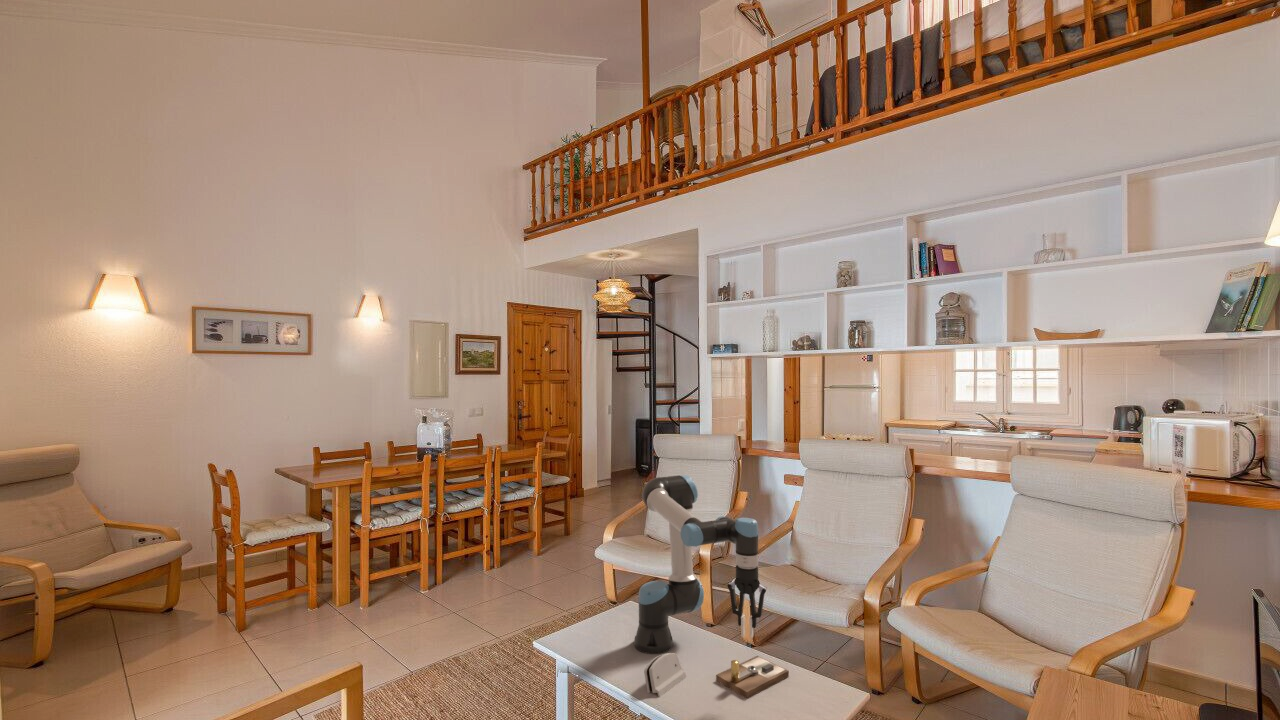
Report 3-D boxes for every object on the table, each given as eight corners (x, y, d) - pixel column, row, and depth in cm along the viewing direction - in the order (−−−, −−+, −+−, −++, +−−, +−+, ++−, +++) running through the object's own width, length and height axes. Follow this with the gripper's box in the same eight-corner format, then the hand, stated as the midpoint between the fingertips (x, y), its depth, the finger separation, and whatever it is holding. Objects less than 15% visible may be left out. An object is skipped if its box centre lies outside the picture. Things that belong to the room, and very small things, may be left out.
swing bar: (752, 668, 204) (751, 650, 204) (759, 672, 202) (759, 654, 202) (729, 679, 197) (728, 661, 197) (736, 683, 194) (735, 665, 194)
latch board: (716, 680, 200) (716, 670, 201) (757, 661, 214) (757, 651, 214) (747, 698, 189) (746, 687, 190) (788, 676, 203) (788, 666, 203)
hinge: (659, 697, 190) (650, 665, 192) (648, 697, 193) (640, 666, 195) (687, 676, 203) (679, 646, 205) (676, 677, 206) (668, 647, 208)
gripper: (722, 566, 194) (722, 637, 193) (767, 571, 188) (768, 644, 188) (727, 559, 201) (727, 627, 200) (771, 564, 195) (771, 635, 195)
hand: (747, 636), depth 194 cm, fingers open, 2 cm apart
